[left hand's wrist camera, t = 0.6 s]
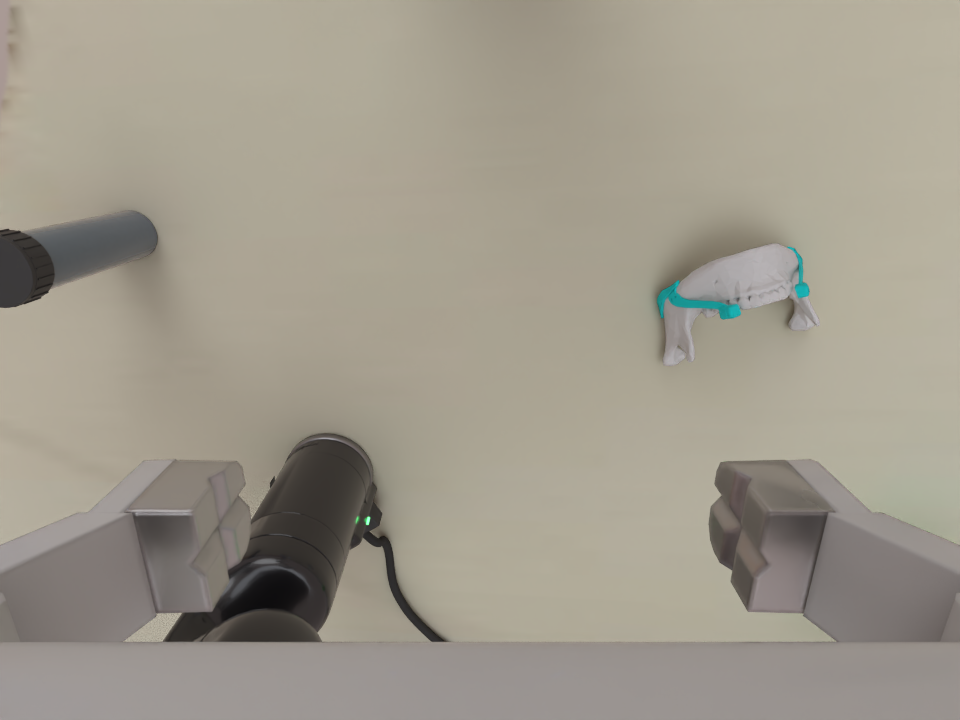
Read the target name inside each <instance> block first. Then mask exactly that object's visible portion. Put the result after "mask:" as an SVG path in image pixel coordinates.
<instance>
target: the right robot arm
mask: <svg viewBox="0 0 960 720" xmlns="http://www.w3.org/2000/svg"><path fill="white" fill-rule="evenodd" d="M372 481H373V468H372V464H371V462H370V459H369V458H368V456H367V454H366V453H365V452H364V450H363V449H362V448H361V447H360V446H358V445H357V444H356V443H354V442H353V441H351V440H349V439H347V438H345V437H342V436H339V435H334V434H318V435H314V436H311V437H308V438H306V439H304V440H303V441H301V442H300V443H298V444H297V445H296V446H295V447H294V449H293V450H292V452H291V453H290V455H289V457H288V458H287V461H286V462H285V465H284V467H283V468H282V470H281V471H280V473H279V475H278V476H277V478H276V480H275V476H274V477H273V479H272V481H271V482H270V490H269V491H268V493H267V495H266V496H265V498H264V500H263V501H262V503H261V505H260V506H259V508H258V510H257V511H256V513H255V515H254V516H253V518H252V520H251V535H250V539H249V543H248V547H247V551H246V553H245V554H244V556H243V558H242V560H241V562H240V563H239V564H237V565H235V566H234V567H232V568H231V569H229V570H228V576H229V583H228V585H227V587H226V588H225V590H224V592H223V594H222V595H221V597H220V599H219V600H218V602H217V604H216V606H215V607H214V609H213V611H212V612H185V613H182V614H181V616H180V617H179V618H178V620H177V621H176V623H175V624H174V626H173V627H172V629H171V630H170V631H169V633H168V634H167V636H166V637H165V639H164V640H163V642H322V641H321V638H320V637H319V635H318V633H317V632H318V631H319V630H320V629H321V628H322V626H323V625H324V623H325V621H326V619H327V617H328V615H329V613H330V610H331V607H332V604H333V601H334V598H335V594H336V591H337V588H338V585H339V582H340V579H341V576H342V572H343V569H344V566H345V563H346V560H347V556H348V553H349V550H350V549H352V548H354V547H356V546H357V545H359V544H360V543H361V541H362V537H363V538H364V539H365V540H366V541H368V542H369V543H370V544H371V545H373V546H375V547H381V546H382V547H383V549H384V552H385V557H386V566H387V575H388V581H389V585H390V588H391V591H392V593H393V596H394V598H395V600H396V601H397V603H398V605H399V606H400V608H401V609H402V611H403V612H404V614H405V615H406V616H407V618H408V619H409V620H410V621H411V622H412V623H413V624H414V625H415V626H416V627H417V628H418V629H419V630H420V631H421V632H422V633H423V634H424V635H425V636H426V637H427V638H428V639H429V640H431V641H432V642H445V641H443V640H442V639H441V638H440V637H438V636H437V635H436V634H435V633H434V632H432V631H431V630H430V629H429V628H428V627H427V626H426V625H425V624H424V623H423V622H422V621H421V620H420V619H419V618H418V617H417V616H416V614H415V613H414V612H413V611H412V610H411V608H410V607H409V605H408V604H407V602H406V601H405V599H404V597H403V596H402V594H401V592H400V589H399V587H398V584H397V581H396V576H395V569H394V559H393V552H392V547H391V544H390V542H389V540H388V539H387V538H386V537H384V536H382V537H380V538H377V537H375V536H374V535H373V534H371V533H370V532H369V531H370V530H372V529H374V528H376V527H378V526H379V524H380V520H381V516H382V512H381V511H380V510H379V508H378V507H377V506H376V505H375V503H374V502H373V500H374V497H375V493H376V490H377V488H376V486H375V485H374V484H373V482H372Z"/></svg>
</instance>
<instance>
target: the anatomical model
mask: <svg viewBox="0 0 960 720" xmlns="http://www.w3.org/2000/svg"><path fill="white" fill-rule="evenodd" d="M809 292H810V291H809V287H808V286H807V284H806V283H803V266H802V258H801V256H800V255H799V254H798V253H797V251H796V250H795V249H794V248H792V247H784V246H782V245H780V244H772V243H771V244H768V245H765V246H761V247H757V248H753V249H749V250H745V251H742V252H739V253H737V254H733V255H730V256H726V257H722V258H718V259H716V260H713V261H711V262H708V263H706V264H705V265H703V266H701V267H699V268H697V269H696V270H694V271H693V272H692V273H690V274H689V275H688V276H687V277H686V278H684V279H683V280H682V281H681V282H680V283H679V280H678V281H676V282H675V283H674V284H673V285H671V286H670V287H668V288H666V289H664V290H662V291H661V293H660V294H659V296H658V298H657V304H658V307H659V310H660V315H661V318H664V321H665V334H666V345H665V353H664V357H663V365H666V366H673V365H677V364H679V363H680V362H681V361H682V360H683V359H685V355H686V359H687V361H688V362H693V360H694V359H695V351H694V343H693V339H692V336H691V328H692V324H693V322H694V320H695V318H696V317H697V316H698V315H699V314H700V313H702V312H703V314H704V315H705V316H706V317H713V316H715V315H716V314H717V313H719V314H720V318H721V319H731V318H735V317H737V316H740V315H741V312H740V309H742V310H743V309H751V308H755V307H760V306H762V305H765V304H769V303H773V302H776V301H780V300H784V299H786V298H787V297H788V296H789V297H790V299H793V301H794V305H795V309H794V314H793V316H792V318H791V319H790V321H789V327H790V329H791V330H797V331H805V330H808V329H810V328H812V327H813V326H815V325H816V326H819V325H820V323H819V318H818V316H817V315H816V313H815V311H814V309H813V307H812V305H811V303H810V301H809V299H808V295H809ZM663 313H664V314H663ZM678 345H680V347H681V348H682V349H683V350H684V351H685V353H686V354H685V353H684V351H683V350H681V349H679V348H678V347H677V346H678Z"/></svg>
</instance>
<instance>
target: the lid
mask: <svg viewBox="0 0 960 720" xmlns="http://www.w3.org/2000/svg"><path fill="white" fill-rule="evenodd" d="M54 277H55V270H54V264H53V262H52V259H51V257H50V255H49V253H48V252H47V251H46V249H45V248H44V247H43V246H42V245H41V243H39V242H38V241H37V240H35V239H34V238H33V237H32V236H29V235H27V234H25V233H22V232H21V231H15V230H9V229H4V230H0V307H1V308H10V307H17V306H19V305H22V304H26V303H29V302H32V301H35V300H38V299H40V298H41V297H42V296H44V295H45V294H47V293H48V291H49V290H50V288H51V287H52V285H53V282H54Z"/></svg>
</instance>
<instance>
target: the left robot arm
mask: <svg viewBox="0 0 960 720" xmlns="http://www.w3.org/2000/svg"><path fill="white" fill-rule="evenodd" d="M244 486H245V479H244V474H243V468H242V466H241V465H240V464H239V463H238V462H237V461H211V460H176V459H168V460H147V461H143V462H141V463H140V464H139V465H138V466H137V467H136V468H135V469H134V470H133V471H132V472H131V473H130V474H129V475H128V476H127V477H125V478H124V479H123V480H122V481H121V482H120V483H119V484H118V485H117V486H116V487H115V488H114V489H113V490H112V491H110V492H109V493H108V494H107V495H106V496H105V497H104V498H103V499H102V500H101V501H100V502H99V503H98V504H97V505H96V506H94V507H93V508H92V509H91V510H90V511H89V512H88V513H76V514H74V515H71V516H69V517H66V518H64V519H62V520H59V521H57V522H55V523H52V524H50V525H47V526H45V527H43V528H40V529H38V530H35V531H33V532H31V533H28V534H26V535H23V536H21V537H19V538H16V539H14V540H11V541H9V542H7V543H4V544H2V545H0V720H960V545H958V544H956V543H953V542H951V541H948V540H946V539H944V538H941V537H939V536H936V535H934V534H932V533H929V532H927V531H924V530H922V529H920V528H917V527H915V526H913V525H910V524H908V523H905V522H903V521H901V520H898V519H896V518H893V517H891V516H889V515H886V514H884V513H872V512H871V511H870V510H869V509H868V508H867V507H866V506H865V505H863V504H862V503H861V502H860V501H859V500H858V499H857V498H856V497H855V496H854V495H853V494H852V493H851V492H850V491H849V490H847V489H846V488H845V487H844V486H843V485H842V484H841V483H840V482H839V481H838V480H837V479H836V478H835V477H834V476H833V475H832V474H830V473H829V472H828V471H827V470H826V469H825V468H824V467H823V466H822V465H821V464H820V463H819V462H817V461H814V460H811V459H802V460H763V461H727V462H721V463H720V465H719V467H718V469H717V472H716V478H715V486H716V487H717V489H718V490H719V492H720V493H721V495H722V496H721V497H720V498H719V499H718V500H717V501H716V502H715V503H714V504H713V505H712V506H711V509H710V517H709V532H710V541H711V544H712V547H713V550H714V553H715V555H716V556H717V558H718V560H719V562H720V563H721V564H723V565H725V566H726V567H728V568H729V569H731V570H732V576H731V583H732V585H733V587H734V588H735V590H736V592H737V593H738V595H739V597H740V599H741V600H742V602H743V604H744V606H745V607H746V609H747V611H748V612H774V613H804V615H803V616H804V617H806V618H807V619H808V620H810V621H811V622H812V623H814V624H815V625H816V626H817V627H819V628H820V629H821V630H823V631H824V632H825V633H827V634H828V635H829V636H831V637H832V638H833V639H835V640H836V641H837V642H123V641H124V640H126V639H127V638H128V637H130V636H131V635H132V634H134V633H135V632H136V631H137V630H139V629H140V628H141V627H143V626H144V625H145V624H147V623H148V622H149V621H151V620H152V619H153V618H155V617H156V613H185V612H212V611H213V609H214V607H215V606H216V604H217V602H218V600H219V599H220V597H221V595H222V594H223V592H224V590H225V588H226V587H227V585H228V583H229V576H228V570H229V569H231V568H232V567H234V566H235V565H237V564H239V563H240V562H241V560H242V558H243V556H244V554H245V553H246V551H247V547H248V543H249V539H250V535H251V516H250V509H249V506H248V505H247V504H246V503H245V502H244V501H243V500H242V499H241V498H240V497H239V496H238V495H239V493H240V492H241V490H242V489H243V487H244Z"/></svg>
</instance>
